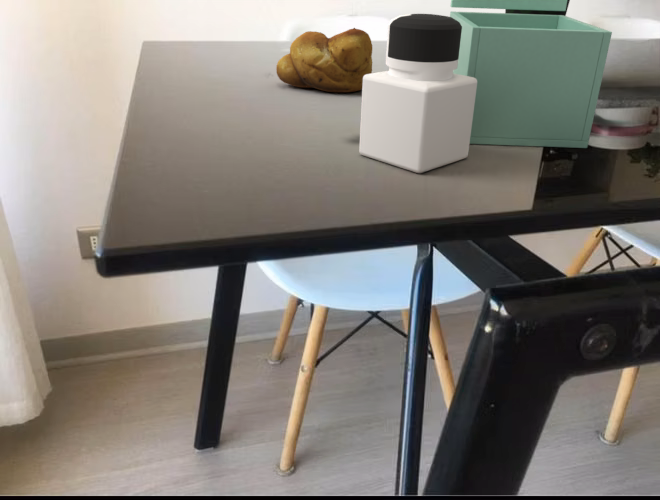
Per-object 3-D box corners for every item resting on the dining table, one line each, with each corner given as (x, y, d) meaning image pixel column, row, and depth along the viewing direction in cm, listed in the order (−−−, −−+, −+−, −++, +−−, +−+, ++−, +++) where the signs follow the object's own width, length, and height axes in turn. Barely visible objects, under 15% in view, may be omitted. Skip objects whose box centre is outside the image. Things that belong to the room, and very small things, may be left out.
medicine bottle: (469, 158, 57) (487, 17, 51) (419, 175, 52) (434, 22, 47) (407, 140, 61) (418, 9, 56) (357, 155, 57) (364, 13, 51)
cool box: (587, 148, 61) (612, 31, 56) (458, 143, 61) (472, 27, 56) (546, 112, 74) (563, 15, 69) (440, 108, 74) (450, 11, 69)
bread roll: (266, 89, 80) (265, 23, 77) (292, 76, 89) (293, 16, 85) (363, 99, 77) (367, 30, 74) (381, 84, 85) (385, 22, 82)
